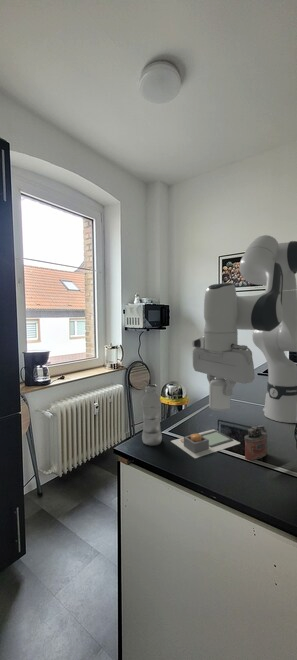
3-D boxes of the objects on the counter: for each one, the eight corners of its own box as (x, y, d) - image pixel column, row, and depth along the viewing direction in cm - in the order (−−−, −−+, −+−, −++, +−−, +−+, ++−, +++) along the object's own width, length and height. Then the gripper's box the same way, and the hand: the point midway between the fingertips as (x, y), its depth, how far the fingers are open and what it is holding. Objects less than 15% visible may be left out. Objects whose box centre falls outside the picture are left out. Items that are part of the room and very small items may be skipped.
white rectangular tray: (213, 432, 100) (213, 421, 100) (240, 446, 89) (240, 434, 89) (170, 444, 91) (170, 432, 91) (194, 462, 80) (194, 448, 80)
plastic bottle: (160, 450, 88) (159, 388, 87) (139, 448, 89) (138, 388, 88) (163, 441, 94) (162, 384, 93) (144, 439, 95) (143, 383, 94)
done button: (197, 438, 89) (196, 432, 89) (203, 442, 86) (203, 436, 86) (188, 441, 87) (188, 435, 87) (195, 445, 84) (195, 439, 84)
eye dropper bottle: (228, 413, 72) (229, 368, 71) (207, 409, 75) (208, 366, 74) (231, 408, 76) (232, 365, 75) (211, 404, 78) (212, 363, 77)
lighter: (250, 466, 78) (250, 431, 77) (241, 460, 81) (241, 427, 80) (269, 459, 81) (270, 426, 81) (260, 454, 84) (260, 422, 84)
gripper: (260, 345, 66) (260, 401, 67) (205, 339, 84) (205, 383, 85) (242, 347, 63) (242, 405, 64) (188, 340, 81) (189, 386, 82)
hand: (220, 392), depth 75 cm, fingers closed on eye dropper bottle, 4 cm apart
